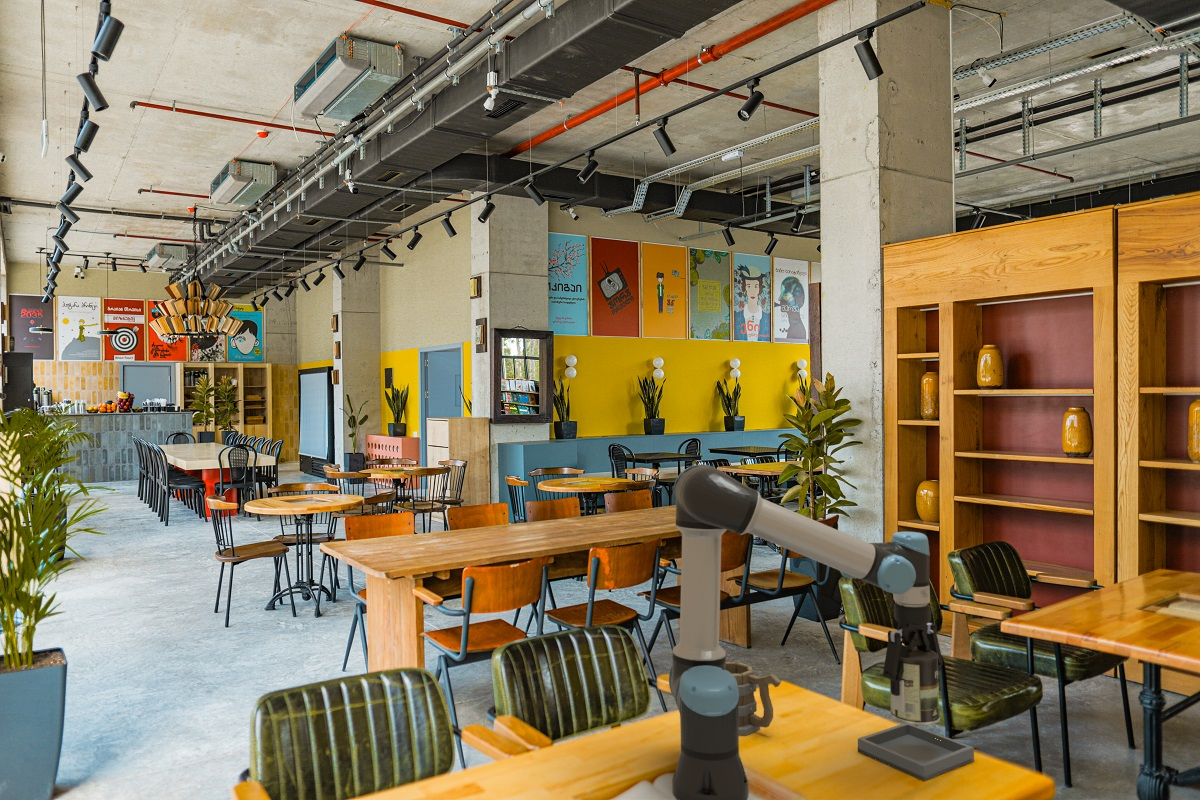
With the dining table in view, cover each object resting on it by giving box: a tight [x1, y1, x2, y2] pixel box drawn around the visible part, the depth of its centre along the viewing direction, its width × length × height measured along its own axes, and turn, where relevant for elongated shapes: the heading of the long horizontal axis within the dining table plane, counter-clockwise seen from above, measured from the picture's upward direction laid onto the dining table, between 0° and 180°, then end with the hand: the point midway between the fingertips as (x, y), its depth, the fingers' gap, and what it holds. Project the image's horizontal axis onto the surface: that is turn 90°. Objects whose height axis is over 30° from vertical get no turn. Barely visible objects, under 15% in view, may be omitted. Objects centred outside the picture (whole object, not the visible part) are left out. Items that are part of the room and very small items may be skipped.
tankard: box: [725, 661, 782, 736], centre depth 192 cm, size 20×13×15 cm, turn 42°
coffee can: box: [889, 646, 941, 727], centre depth 176 cm, size 10×10×14 cm
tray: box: [857, 723, 975, 782], centre depth 176 cm, size 17×17×3 cm
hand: (914, 704), depth 176 cm, fingers closed on coffee can, 10 cm apart
